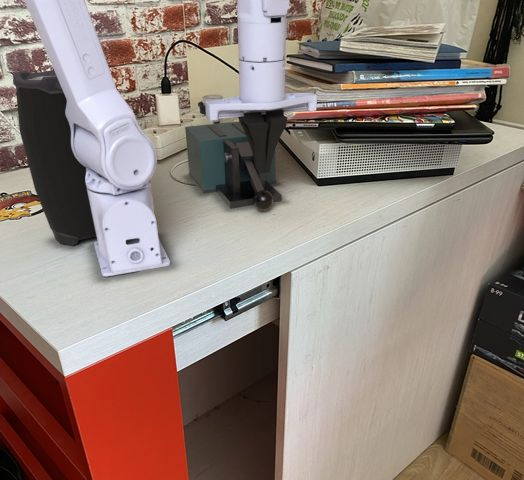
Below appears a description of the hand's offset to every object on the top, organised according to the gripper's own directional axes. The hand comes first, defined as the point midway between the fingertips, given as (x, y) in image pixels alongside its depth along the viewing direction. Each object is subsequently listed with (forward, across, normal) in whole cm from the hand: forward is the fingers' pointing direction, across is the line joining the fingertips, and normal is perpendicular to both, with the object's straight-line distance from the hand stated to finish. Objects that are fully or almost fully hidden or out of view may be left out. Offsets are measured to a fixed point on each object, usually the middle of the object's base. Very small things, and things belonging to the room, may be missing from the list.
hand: (262, 170), depth 74 cm
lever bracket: (+6, 0, -8) cm, 10 cm away
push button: (+6, -2, -30) cm, 31 cm away
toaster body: (+6, 0, -15) cm, 16 cm away
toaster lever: (+3, 0, -5) cm, 6 cm away
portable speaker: (+6, +25, -2) cm, 26 cm away
